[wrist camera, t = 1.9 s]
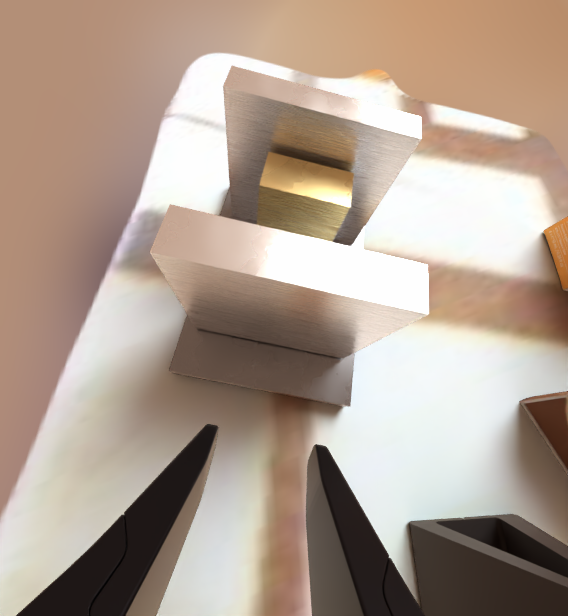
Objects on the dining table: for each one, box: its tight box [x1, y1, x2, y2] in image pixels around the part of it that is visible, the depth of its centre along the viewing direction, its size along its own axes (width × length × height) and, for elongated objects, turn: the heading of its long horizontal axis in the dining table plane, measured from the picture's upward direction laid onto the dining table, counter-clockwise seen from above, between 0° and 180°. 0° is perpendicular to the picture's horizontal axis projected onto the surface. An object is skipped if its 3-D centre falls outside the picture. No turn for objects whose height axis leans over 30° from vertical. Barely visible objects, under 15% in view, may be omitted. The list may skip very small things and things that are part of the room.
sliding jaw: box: [150, 205, 429, 359], centre depth 17 cm, size 2×12×11 cm, turn 80°
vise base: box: [169, 66, 422, 407], centre depth 20 cm, size 20×14×12 cm
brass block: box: [257, 152, 354, 242], centre depth 22 cm, size 3×6×8 cm, turn 80°
